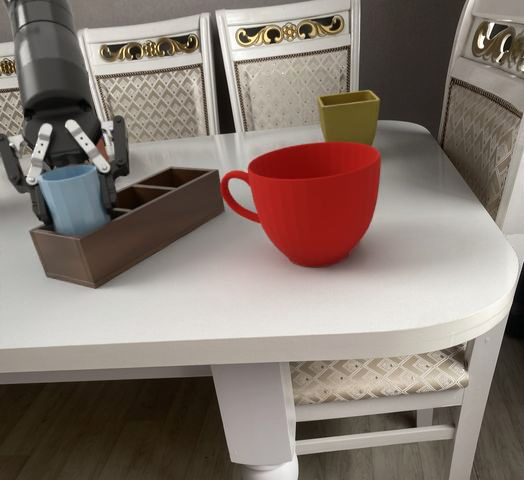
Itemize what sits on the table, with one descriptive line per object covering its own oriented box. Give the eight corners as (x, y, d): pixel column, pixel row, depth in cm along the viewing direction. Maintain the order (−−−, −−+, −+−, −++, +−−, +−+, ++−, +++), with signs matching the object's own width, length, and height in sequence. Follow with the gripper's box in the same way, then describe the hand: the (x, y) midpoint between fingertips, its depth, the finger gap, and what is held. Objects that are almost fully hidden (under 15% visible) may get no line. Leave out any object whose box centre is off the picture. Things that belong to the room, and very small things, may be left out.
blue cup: (54, 259, 59) (25, 179, 54) (94, 238, 63) (70, 162, 58) (90, 267, 56) (63, 183, 51) (129, 245, 60) (107, 165, 55)
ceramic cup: (252, 227, 65) (241, 144, 60) (390, 232, 59) (392, 139, 54) (206, 274, 56) (188, 180, 50) (365, 285, 50) (364, 179, 44)
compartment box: (46, 276, 60) (28, 230, 57) (178, 205, 76) (170, 166, 73) (95, 288, 56) (79, 239, 53) (225, 210, 72) (218, 169, 69)
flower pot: (380, 160, 83) (380, 98, 78) (324, 167, 83) (321, 105, 78) (370, 147, 90) (370, 89, 85) (319, 153, 91) (316, 96, 86)
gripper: (-29, 65, 54) (-6, 212, 51) (111, 45, 56) (140, 187, 53) (1, 112, 62) (22, 243, 59) (124, 93, 63) (150, 220, 60)
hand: (78, 216), depth 56 cm, fingers closed on blue cup, 6 cm apart
